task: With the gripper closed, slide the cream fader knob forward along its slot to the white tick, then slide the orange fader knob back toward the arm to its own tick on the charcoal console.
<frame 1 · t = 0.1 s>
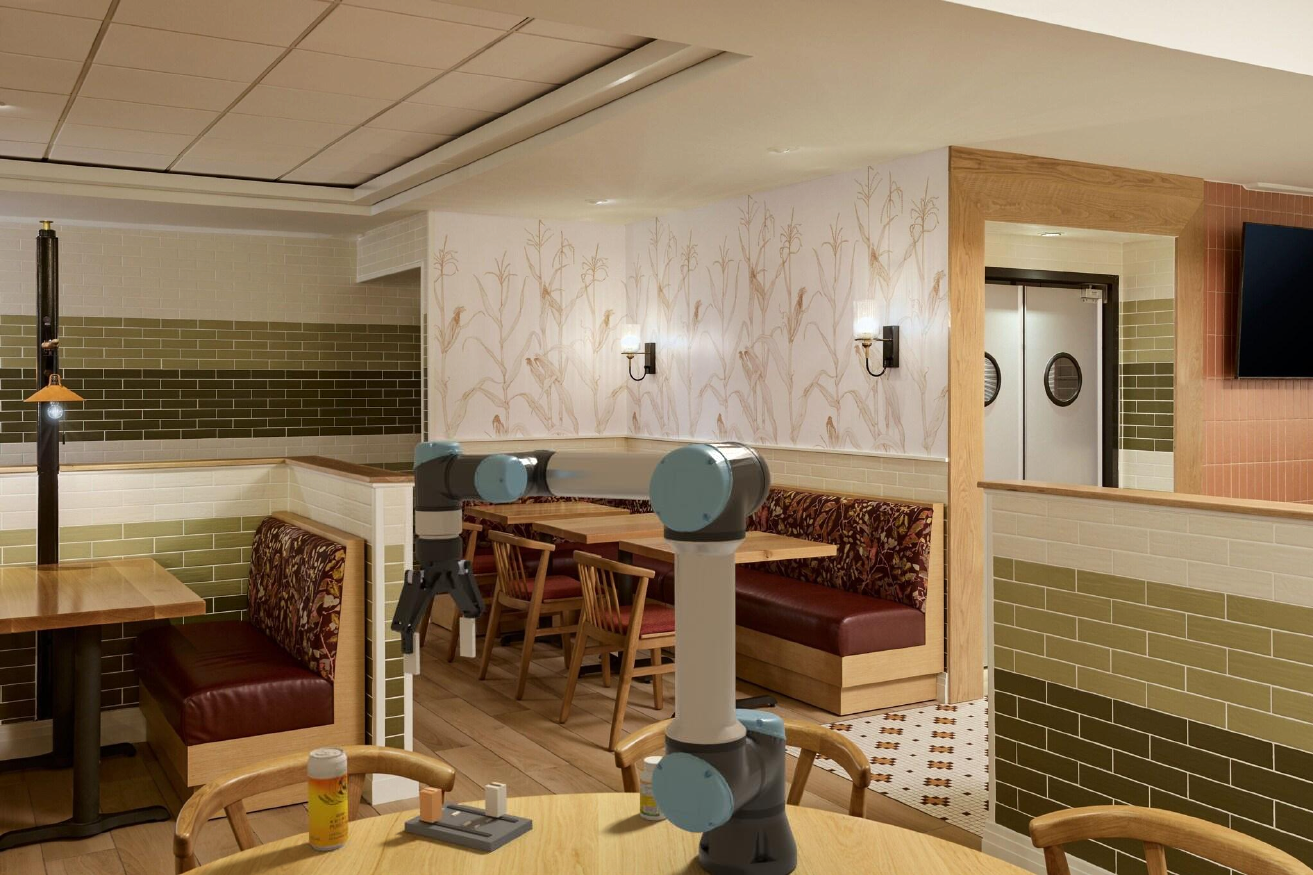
hand: (440, 664, 185), 28 cm above the table, tool pointing down, fingers open, 13 cm apart
orange fader: (430, 804, 186), point 5 cm above the table, slide at 8.0 cm
beer can: (328, 845, 182), on the table
cream fader: (495, 798, 189), point 5 cm above the table, slide at 0.0 cm
console: (468, 829, 187), on the table
supplement bottle: (655, 816, 193), on the table
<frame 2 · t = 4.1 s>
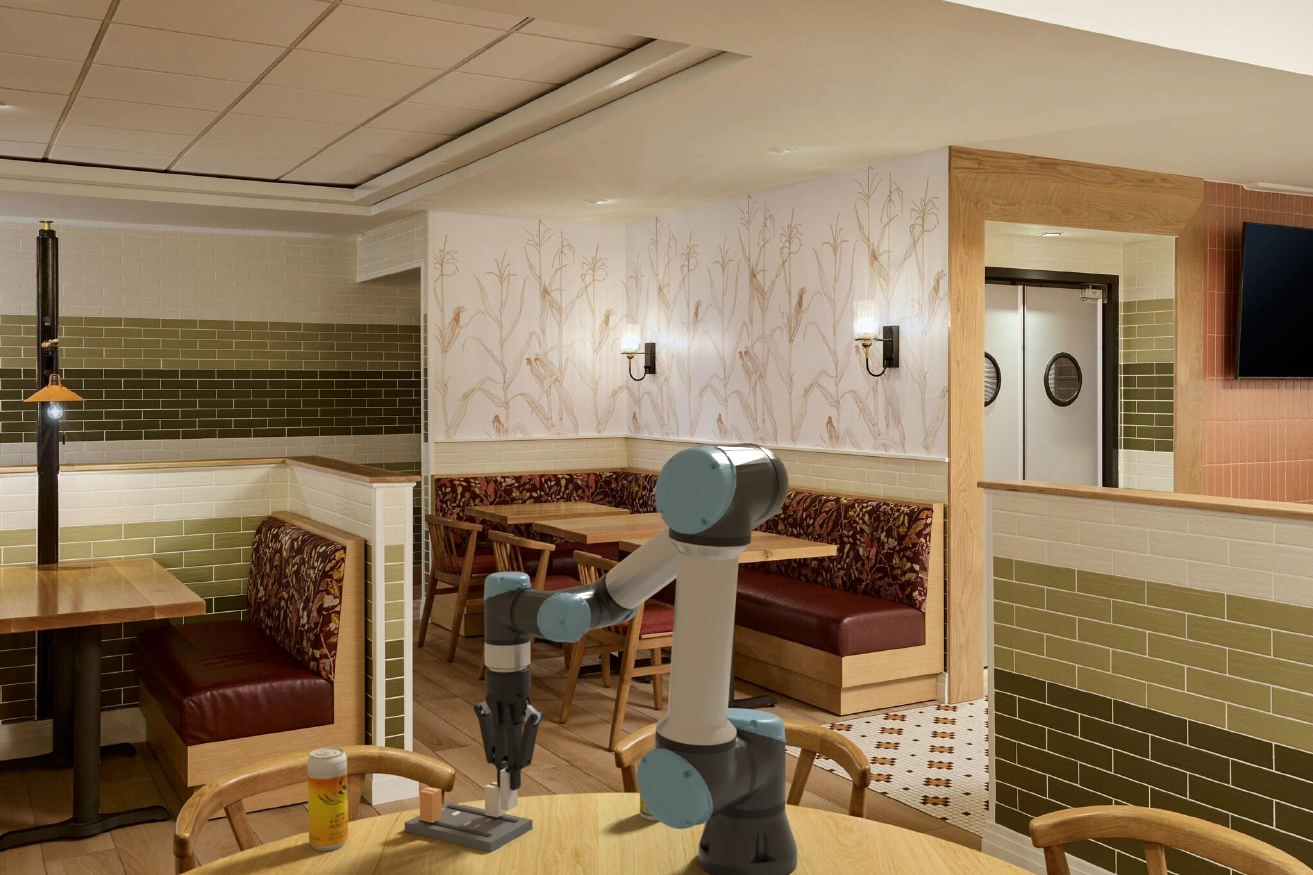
hand: (509, 807, 187), 4 cm above the table, tool pointing down, fingers closed
cream fader: (495, 798, 189), point 5 cm above the table, slide at 0.1 cm, touching gripper
everything else where it was.
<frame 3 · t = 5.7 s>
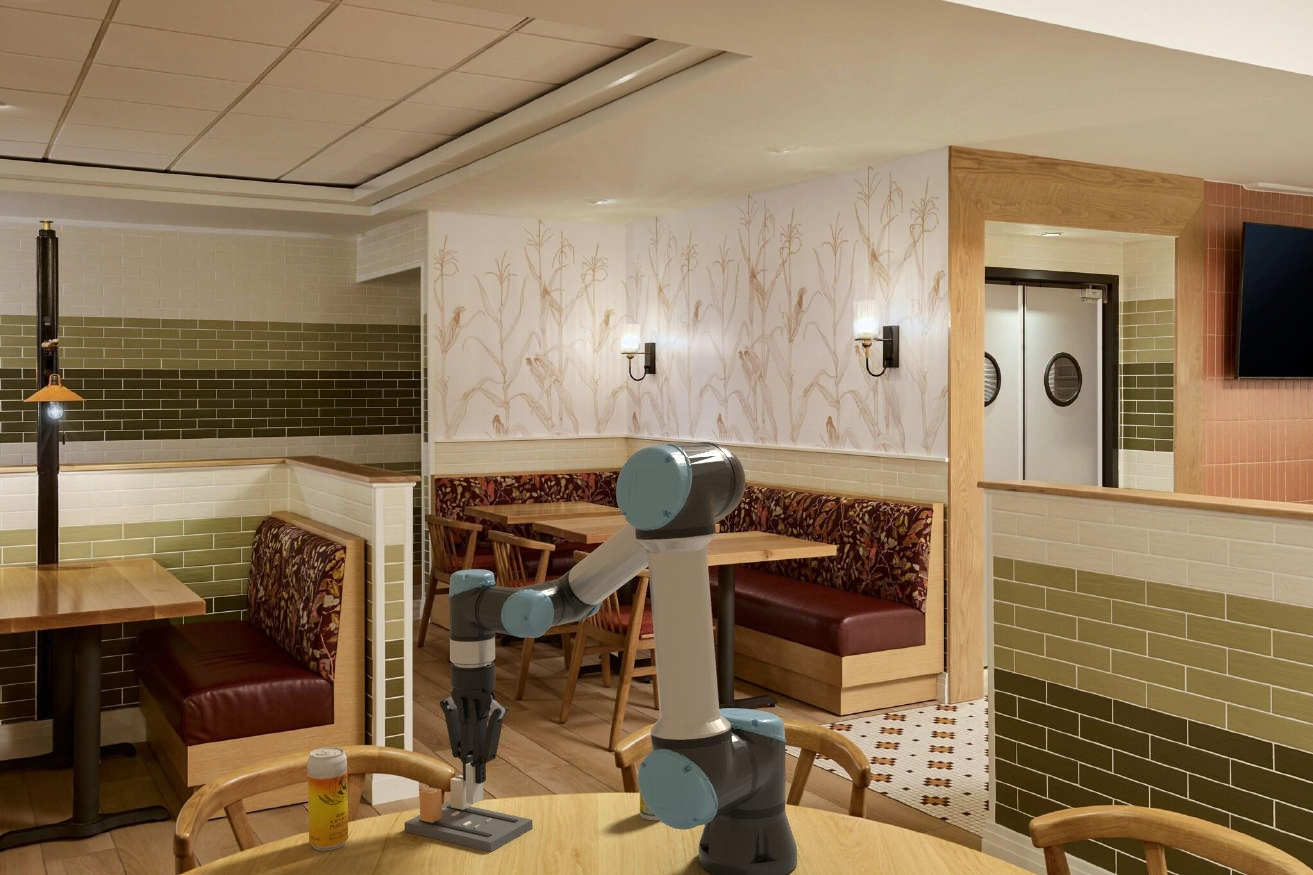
hand: (474, 800, 191), 4 cm above the table, tool pointing down, fingers closed
cream fader: (461, 791, 192), point 5 cm above the table, slide at 7.4 cm, touching gripper
everything else where it was.
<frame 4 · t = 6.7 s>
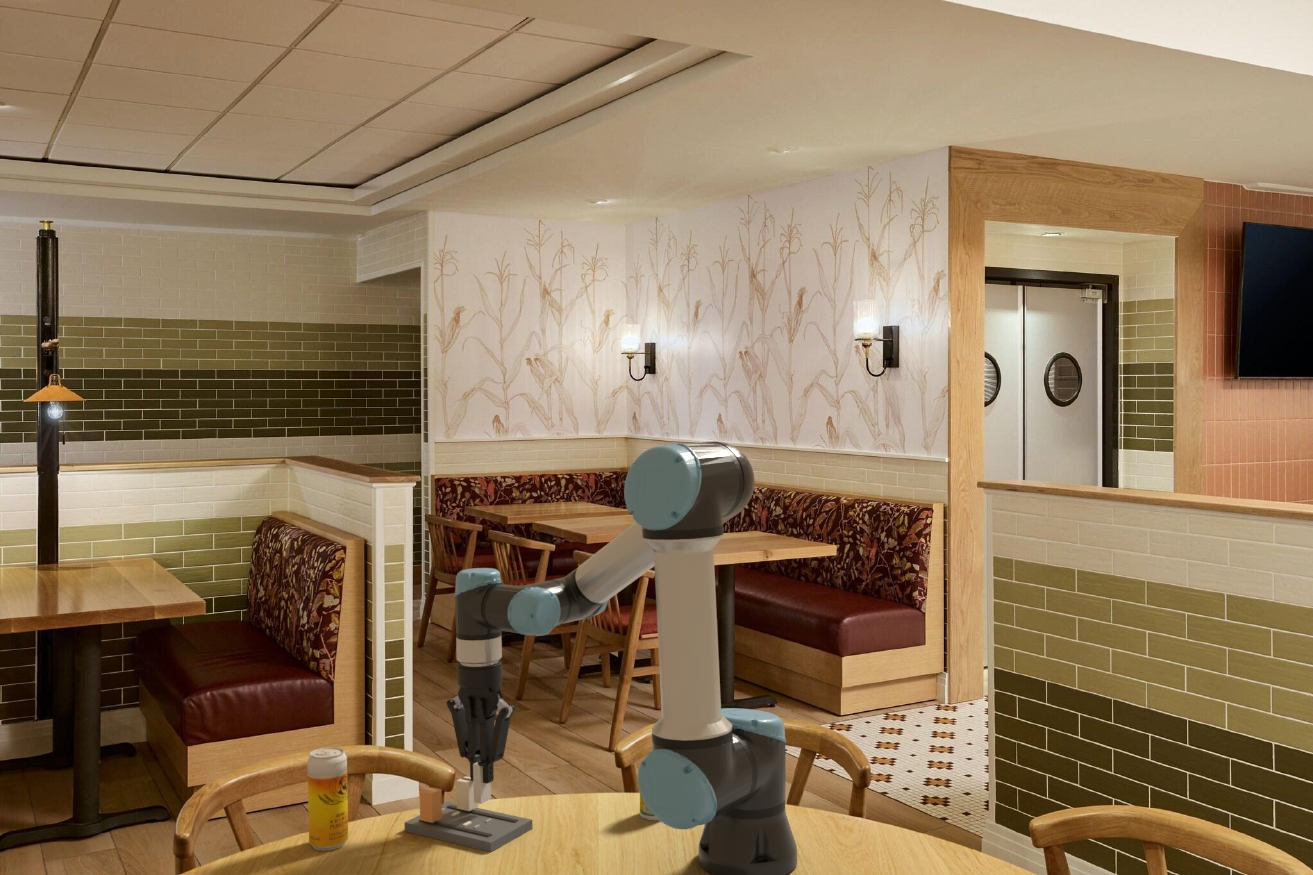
hand: (482, 800, 190), 4 cm above the table, tool pointing down, fingers closed
cream fader: (467, 792, 192), point 5 cm above the table, slide at 6.0 cm
everything else where it was.
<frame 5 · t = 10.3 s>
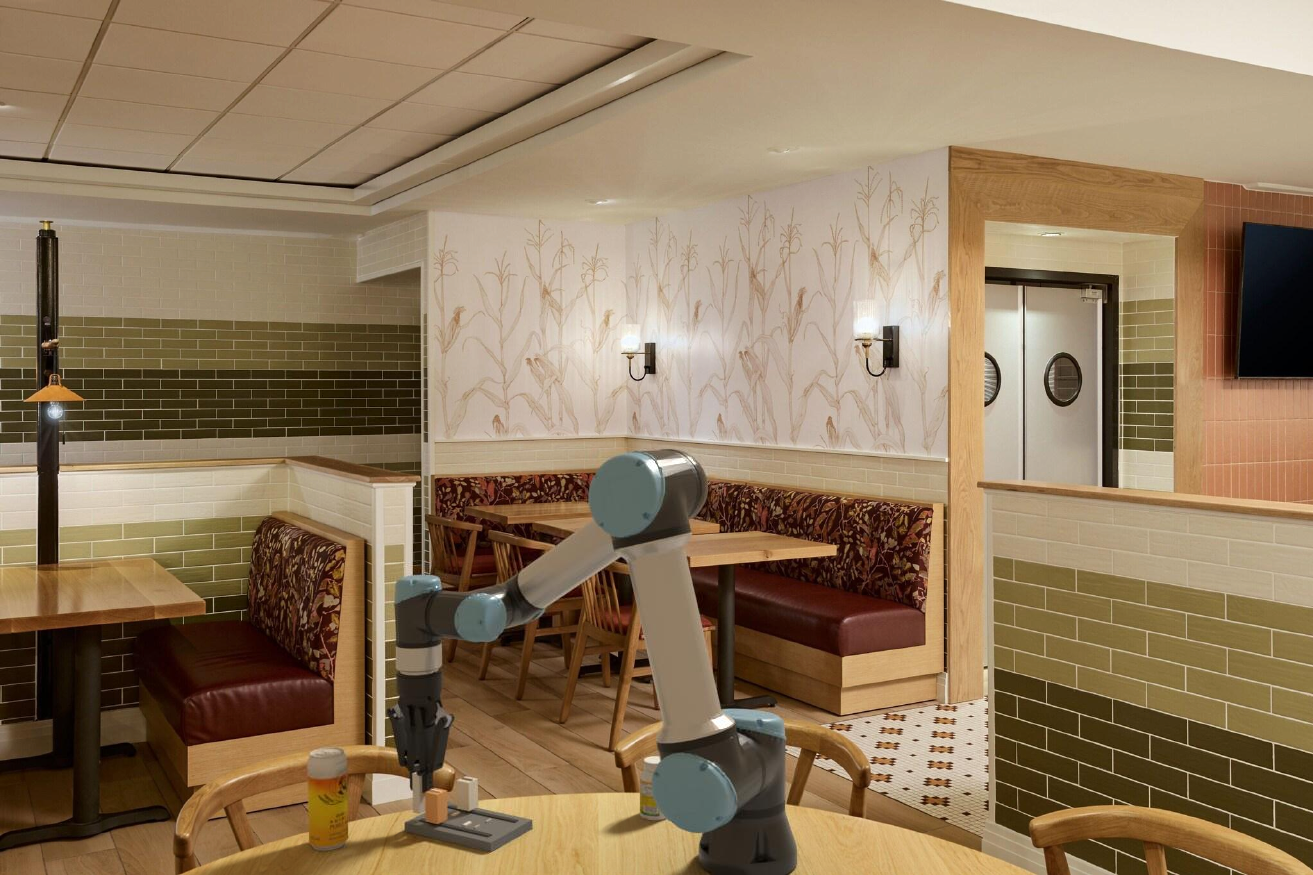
hand: (421, 810, 187), 3 cm above the table, tool pointing down, fingers closed
orange fader: (436, 805, 186), point 5 cm above the table, slide at 6.8 cm, touching gripper
everything else where it was.
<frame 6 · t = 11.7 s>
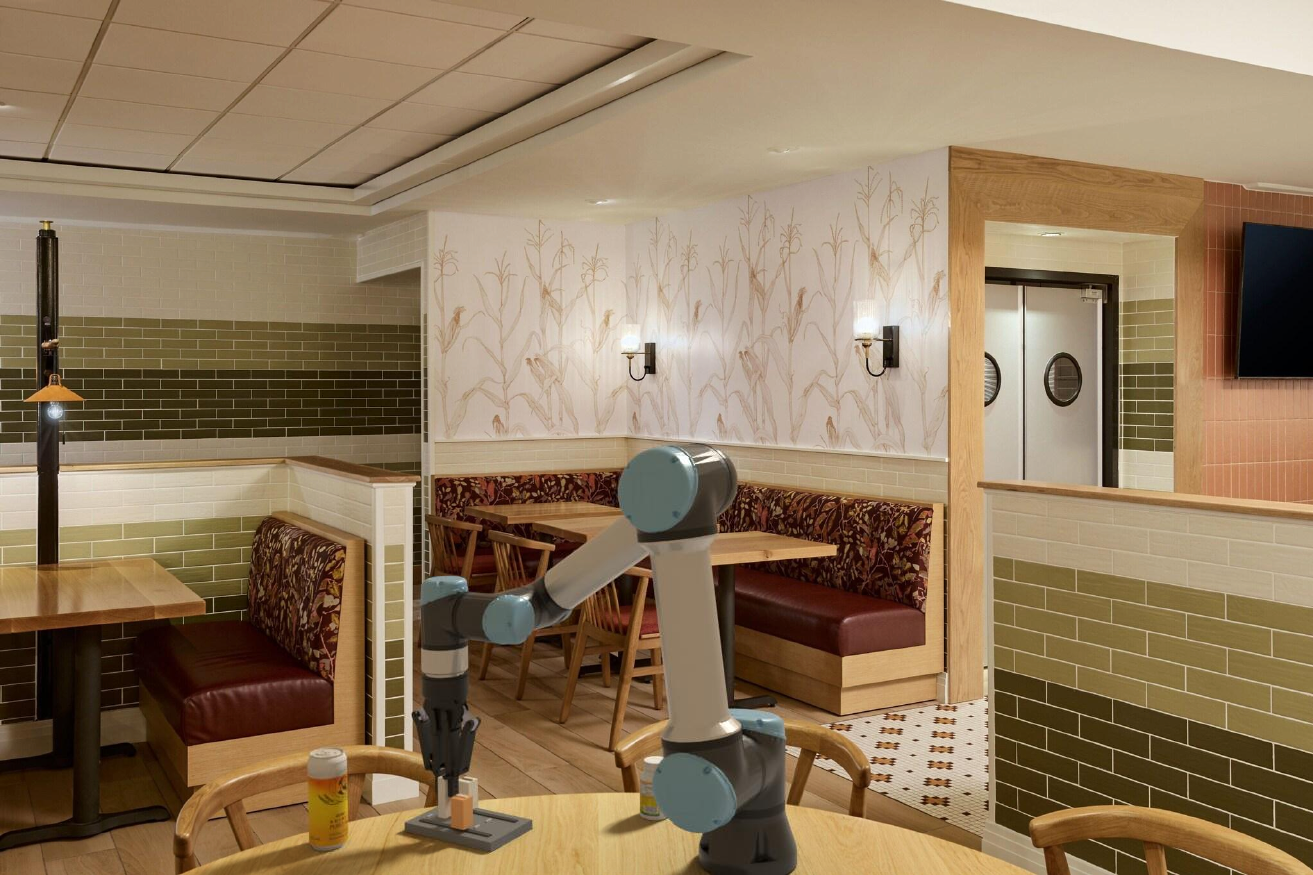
hand: (447, 814, 185), 3 cm above the table, tool pointing down, fingers closed
orange fader: (461, 810, 183), point 5 cm above the table, slide at 1.5 cm, touching gripper
everything else where it was.
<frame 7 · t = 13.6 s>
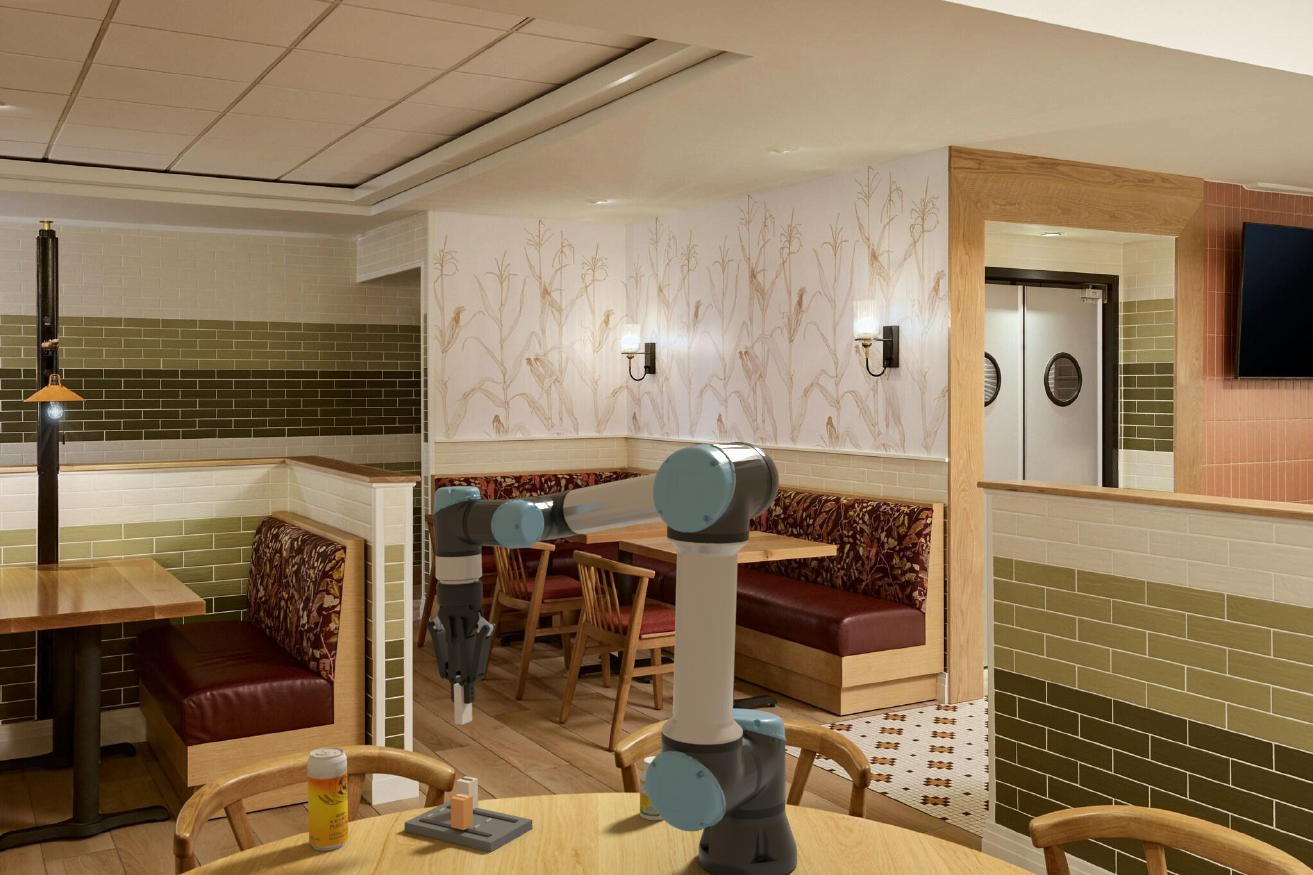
hand: (463, 721, 187), 18 cm above the table, tool pointing down, fingers closed
orange fader: (461, 810, 183), point 5 cm above the table, slide at 1.5 cm
everything else where it was.
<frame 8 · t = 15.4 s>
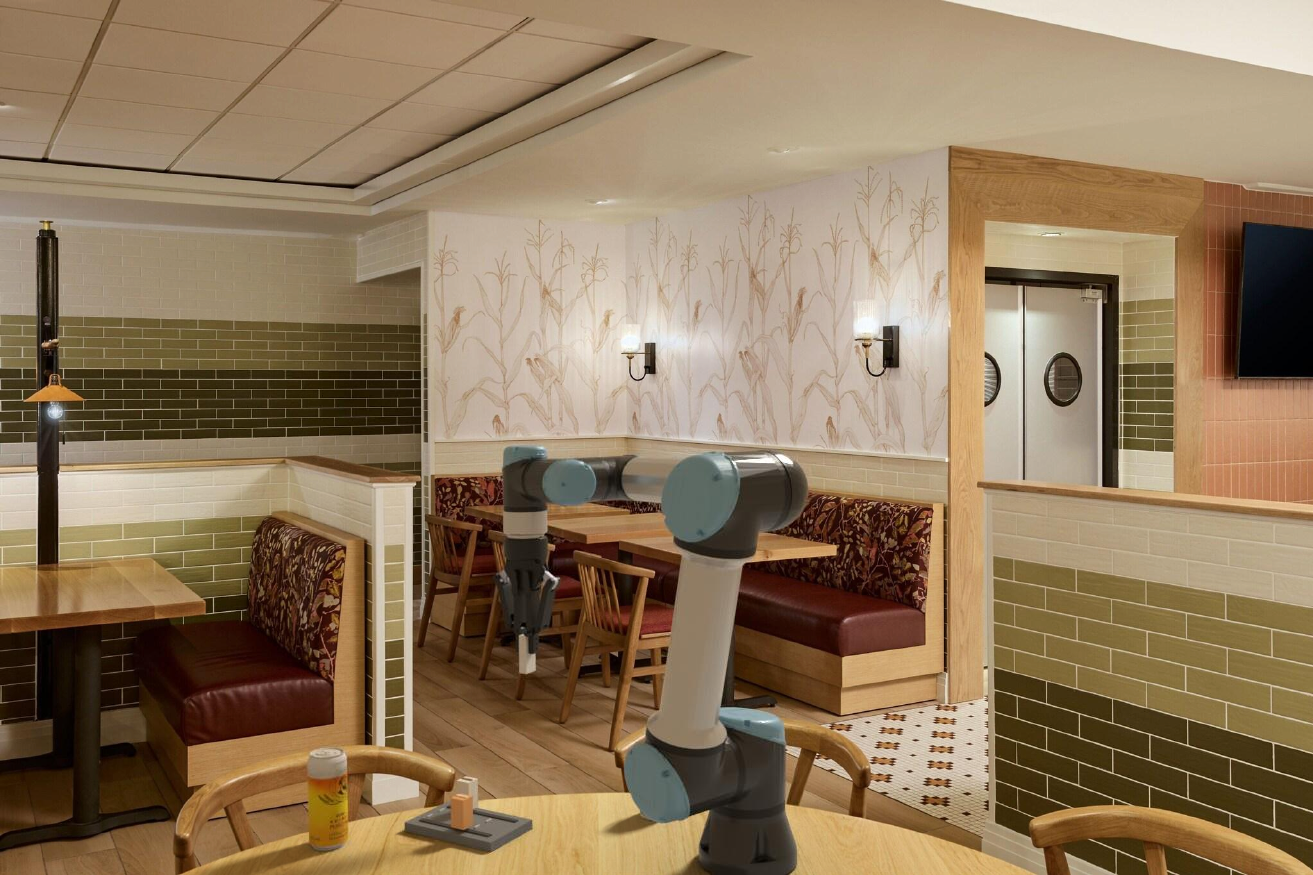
hand: (527, 671, 194), 24 cm above the table, tool pointing down, fingers closed
nothing on the table moved.
at the end: cream fader slide at 6.0 cm; orange fader slide at 1.5 cm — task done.
